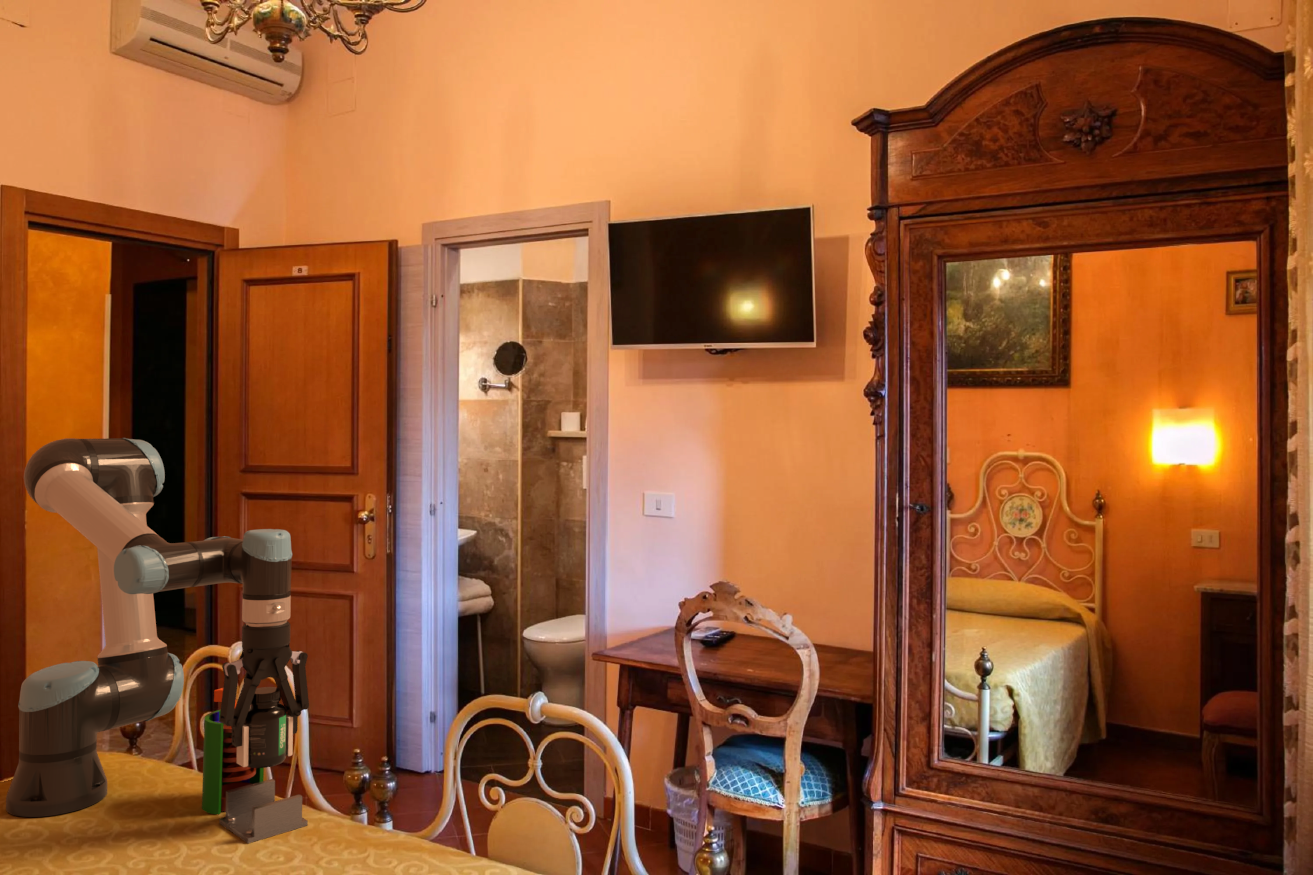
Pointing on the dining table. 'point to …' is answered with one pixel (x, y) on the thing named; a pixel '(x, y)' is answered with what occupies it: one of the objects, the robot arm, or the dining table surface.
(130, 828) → the dining table surface
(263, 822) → the cradle
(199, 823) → the dining table surface
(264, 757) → the supplement bottle
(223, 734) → the motor
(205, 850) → the dining table surface
